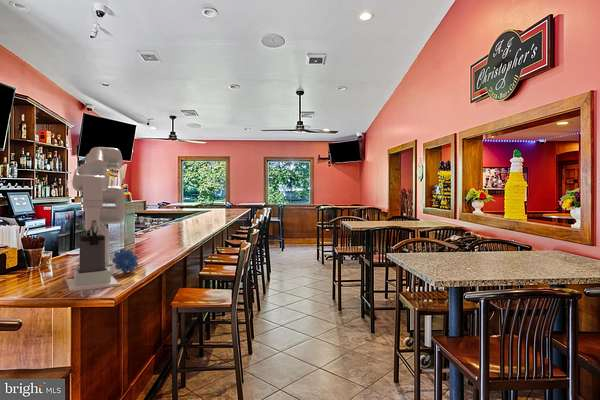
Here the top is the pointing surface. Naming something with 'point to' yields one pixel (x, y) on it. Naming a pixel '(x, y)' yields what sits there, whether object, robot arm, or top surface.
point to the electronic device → (92, 255)
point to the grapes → (125, 260)
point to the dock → (91, 280)
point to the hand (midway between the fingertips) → (92, 243)
